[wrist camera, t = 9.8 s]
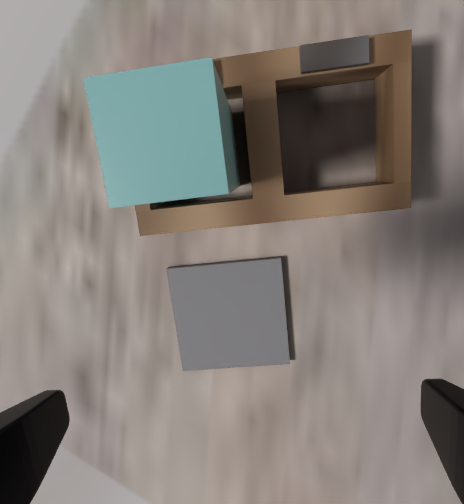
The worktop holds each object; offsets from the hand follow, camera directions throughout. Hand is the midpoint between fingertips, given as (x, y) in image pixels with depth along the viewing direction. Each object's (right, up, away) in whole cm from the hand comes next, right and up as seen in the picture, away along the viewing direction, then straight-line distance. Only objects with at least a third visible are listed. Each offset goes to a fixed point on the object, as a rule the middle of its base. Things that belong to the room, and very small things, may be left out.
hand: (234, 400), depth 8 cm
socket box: (+2, +10, +11) cm, 14 cm away
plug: (-2, +9, +11) cm, 14 cm away
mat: (0, 0, +13) cm, 13 cm away
